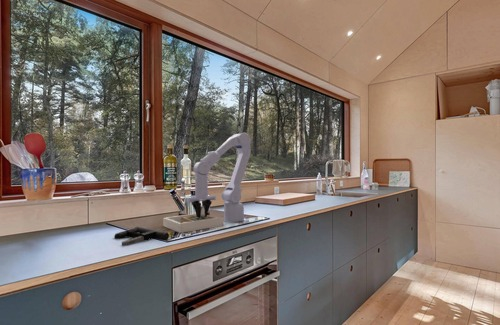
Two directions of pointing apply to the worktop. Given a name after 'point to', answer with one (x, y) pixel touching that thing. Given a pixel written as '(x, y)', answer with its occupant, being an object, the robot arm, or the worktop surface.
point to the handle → (202, 212)
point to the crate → (193, 218)
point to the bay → (191, 223)
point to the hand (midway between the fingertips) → (201, 216)
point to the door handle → (140, 235)
